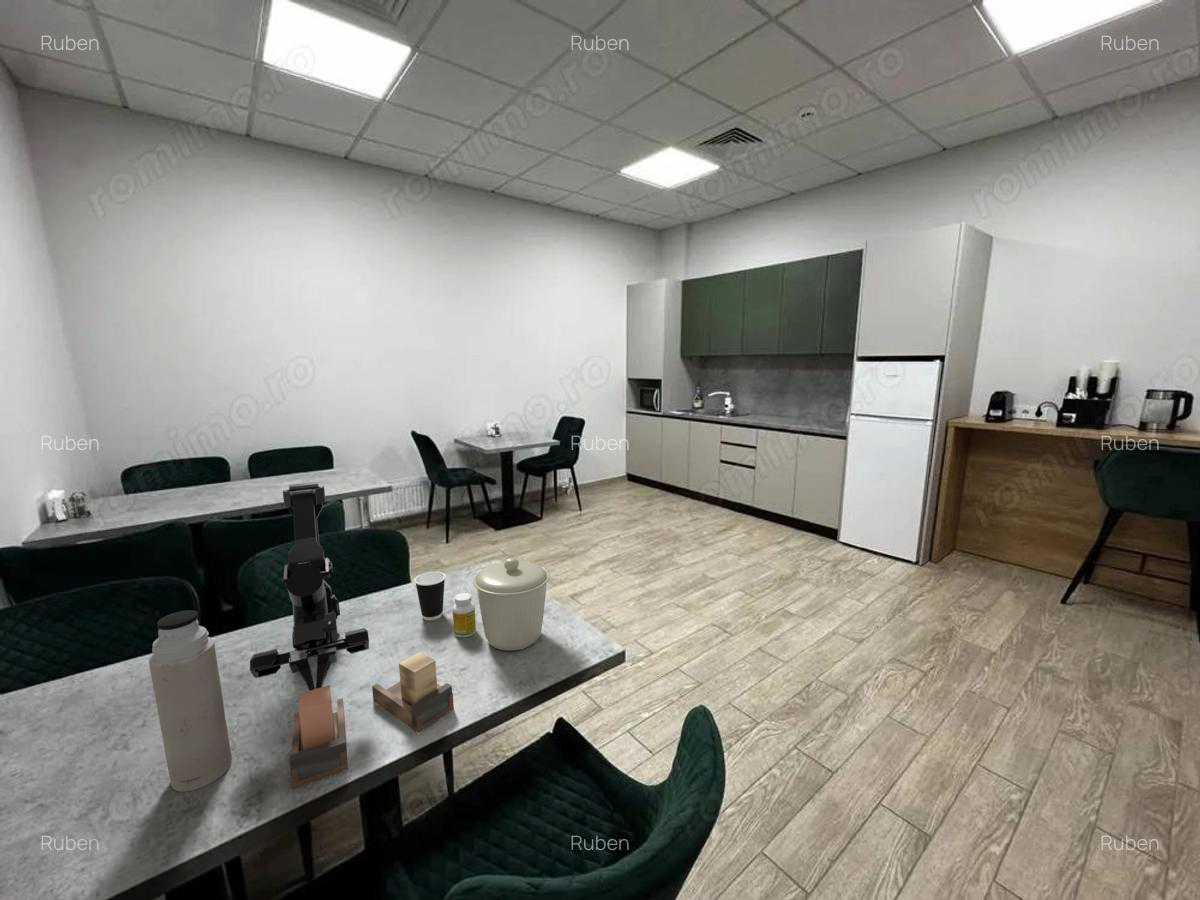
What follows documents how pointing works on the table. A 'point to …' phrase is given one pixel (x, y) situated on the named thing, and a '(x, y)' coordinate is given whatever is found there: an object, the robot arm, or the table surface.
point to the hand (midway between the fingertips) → (316, 700)
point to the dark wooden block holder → (318, 753)
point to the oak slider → (417, 677)
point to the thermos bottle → (189, 702)
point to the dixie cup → (431, 594)
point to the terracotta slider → (316, 717)
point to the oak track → (415, 705)
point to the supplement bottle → (464, 616)
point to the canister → (512, 602)
